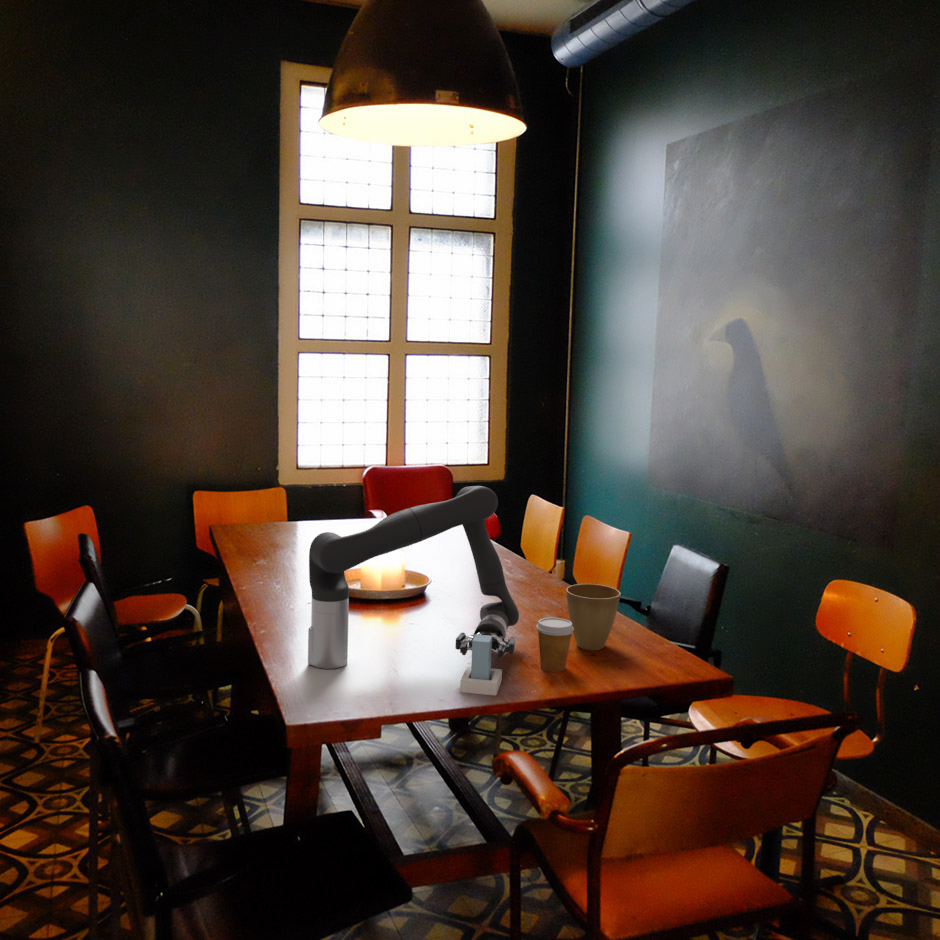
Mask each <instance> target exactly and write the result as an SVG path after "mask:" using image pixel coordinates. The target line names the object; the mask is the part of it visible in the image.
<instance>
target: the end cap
mask: <svg viewBox="0 0 940 940" xmlns="http://www.w3.org/2000/svg"><path fill="white" fill-rule="evenodd" d="M471 667H472V666H471V665H470V666H468V665H467V666H466V668H465V670H464V672H463V675H461V678H460V687H459V692H460V693H466V694H477V695H485V696H486V695H487V696H497V695H498V692H499V690H500V687H501V683H502V677H503V669H501V668H491V675H490V680H481V679H471Z"/></svg>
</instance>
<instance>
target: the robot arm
mask: <svg viewBox="0 0 940 940" xmlns="http://www.w3.org/2000/svg"><path fill="white" fill-rule="evenodd" d="M498 504H499V499H498V496H497V493H496V492H494V491H493V490H492V489H491V488H489V487H486V486H482V485H471V486H465V487H463V488H461V489H460V490H458V492H457V494H456V495H455V497H454V498H453V497H452V498H451V499H448V500H445V501H444V500H443V501H439V502H432V503H426V504H420V505H415V506H412V507H408V508H404V509H402V510H399V511H396V512H393V513H391V514H389V515H387V516H386V517H385V518H383V519H381V520H380V521H378V523H376V524H375V525H373V526H372V527H370V528H368V529H366V530H364V531H361V532H356V533H353V534H349V535H345V536H340V535H339V534H337V533H334V532H331V531H330V532H329V531H327V532H326V531H325V532H321V533H319V534H317V536H315V537H314V538H313V540H312V541H311V543H310V547H309V555H308V563H309V564H308V572H309V573H308V574H309V585H310V588H311V589H310V590H311V620H310V621H311V623H310V624H311V626H309V627H308V629H307V630H308V631H307V632H308V637H307V638H308V639H307V665H308V666H312V667H314V668H318V669H324V670H326V669H327V670H329V669H332V670H333V669H338V668H342V667H344V666H346V665H347V664H348V656H349V655H348V653H349V651H348V647H349V613H350V612H349V610H350V609H349V608H350V605H349V602H350V601H349V600H350V599H349V598H350V596H349V595H350V589H349V587H350V586H349V584H348V582H347V580H346V575H345V571H349V570H350V569H352V568H354V567H356V566H358V565H360V564H362V563H364V562H366V561H369V560H370V559H373V558H376V557H378V556H381V555H385V554H388V553H392V552H394V551H396V550H399V549H403V548H407V547H410V546H412V545H414V544H419V543H420V542H423V541H425V540H428V539H430V538H432V537H435V536H437V535H440V534H441V533H442V534H443V533H444V532H446V531H448V530H450V529H453V528H455V527H459V526H462V527H463V530H464V533H465V536H466V538H467V541H468V544H469V547H470V551H471V554H472V557H473V562H474V565H475V570H476V574H477V579H478V583H479V588H480V591H481V594H483V595H484V596H487V597H497V598H498V599H500V601H495V602H490V603H486V604H483V605H482V607H481V608H480V611H479V619H480V621H479V623H478V625H477V627H476V628H475V630H474V633H473V634H472V635H470V636H469V635H466V633H465V632H459V634H458V635H457V637H456V638H455V650H459V653H460V654H461V655H462V656H466V655H467V652H468V651H471V652H472V641H473V639H474V637H475V635H476V634H477V635H489V636H492V651H491V653H494V652H495V654H497V659H501V658H504V657H505V655H506V654H507V653H508V654H509V655H514V652H515V647H516V644H515V643H516V637H514V636H511V637H509V638H508V639H506V637H507V630H508V628H509V627H513V626H516V625H517V624H518V621H519V619H520V611H519V609H518V607H517V605H516V603H515V601H514V600H513V597H512V596H511V594H510V591H509V589H508V587H507V586H508V585H507V582H506V578H505V574H504V569H503V565H502V562H501V559H500V557H499V554H498V552H497V550H496V548H495V546H494V545H493V542H492V540H491V537H490V536H489V533H488V530H487V529H488V528H487V526H486V520H487V519H489V518H491V516H493V515H494V513H495V512H496V511H497V508H498Z"/></svg>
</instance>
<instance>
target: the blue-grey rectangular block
mask: <svg viewBox="0 0 940 940" xmlns="http://www.w3.org/2000/svg"><path fill="white" fill-rule="evenodd" d="M491 651H492V636H489V635H477V634H476V635H475V637H474V639H473V641H472V651H471V666H470V667H471V679H481V680H490V675H491V667H492V652H491Z"/></svg>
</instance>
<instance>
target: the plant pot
mask: <svg viewBox="0 0 940 940" xmlns="http://www.w3.org/2000/svg"><path fill="white" fill-rule="evenodd" d="M565 592H566V604H567V610H568V616H569V621H571V622H572V626H573V628H574V630H573V631H572V634H573V637H574V640H575V642H576V646H577V647H578V648H579V647H580V649H581V648H582V650H585V649H586V650H585V651H599V650H600V649H601V650H602V648H603V649H604V648H605V645H606V643H607V641H608V639H609V636H610V633H611V632H612V628H613V625H614V623H615V619H616V615H617V611H618V607H619V603H620V599H621V592H620V591H619V590H618V589H616V588H615V587H611V586H608V585H603V584H598V583H596V584H595V583H578V584H573V585H570V586H567V587H566V591H565Z"/></svg>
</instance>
